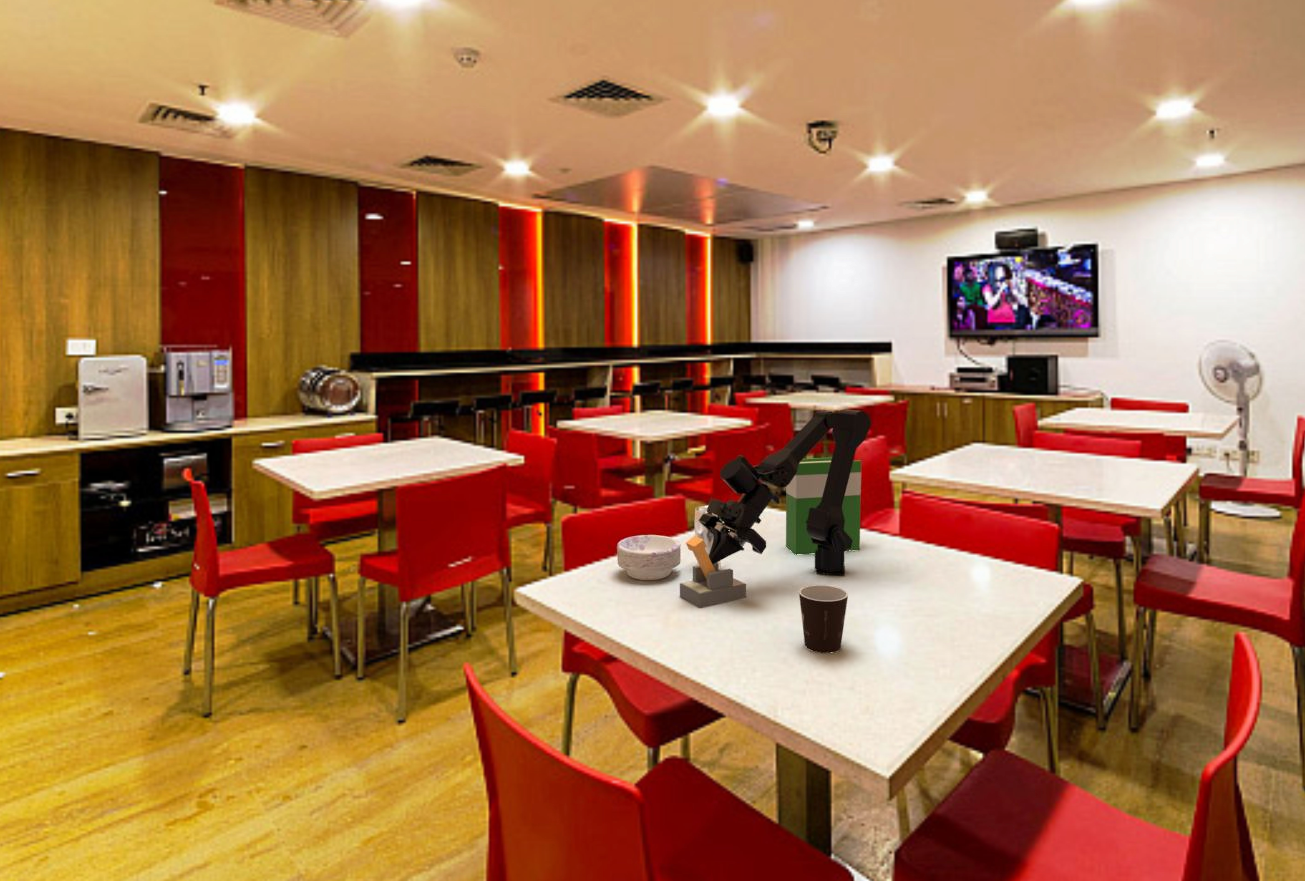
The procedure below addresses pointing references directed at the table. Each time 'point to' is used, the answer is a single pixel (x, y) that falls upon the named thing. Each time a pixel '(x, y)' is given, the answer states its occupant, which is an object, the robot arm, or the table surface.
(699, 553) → the breaker lever
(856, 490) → the hardback book
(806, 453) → the robot arm
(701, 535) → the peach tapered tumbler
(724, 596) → the breaker block
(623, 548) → the paper bowls
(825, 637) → the coffee mug
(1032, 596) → the table surface
